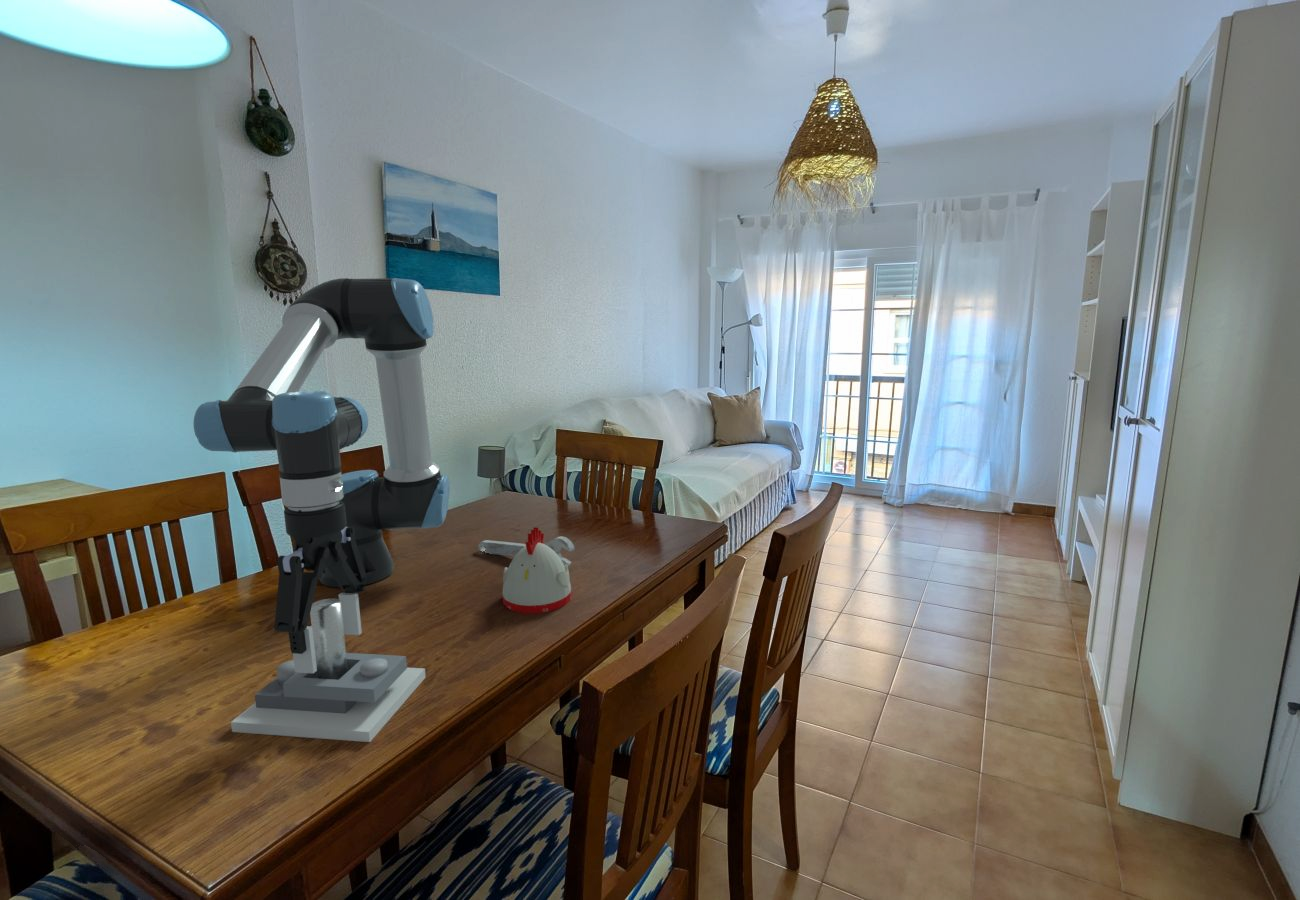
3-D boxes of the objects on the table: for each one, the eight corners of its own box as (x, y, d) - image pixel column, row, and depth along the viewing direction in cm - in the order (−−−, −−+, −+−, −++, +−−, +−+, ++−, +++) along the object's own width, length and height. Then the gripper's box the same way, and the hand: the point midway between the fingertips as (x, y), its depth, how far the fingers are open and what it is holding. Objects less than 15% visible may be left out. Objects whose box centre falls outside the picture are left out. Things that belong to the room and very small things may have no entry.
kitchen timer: (491, 610, 123) (487, 537, 120) (517, 583, 136) (514, 517, 133) (559, 615, 120) (557, 541, 118) (579, 587, 134) (577, 520, 131)
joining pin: (313, 700, 90) (303, 609, 88) (330, 685, 94) (321, 597, 91) (339, 702, 90) (329, 611, 87) (355, 686, 94) (346, 599, 91)
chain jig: (232, 731, 85) (226, 688, 84) (307, 670, 101) (303, 632, 100) (369, 742, 83) (365, 697, 82) (425, 677, 99) (422, 639, 98)
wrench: (485, 561, 157) (577, 571, 141) (480, 563, 156) (572, 574, 140) (481, 530, 156) (573, 537, 140) (475, 532, 155) (568, 539, 138)
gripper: (283, 530, 75) (303, 698, 79) (383, 484, 97) (395, 617, 101) (226, 528, 76) (248, 694, 80) (338, 483, 98) (351, 615, 102)
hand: (330, 651), depth 91 cm, fingers open, 10 cm apart
